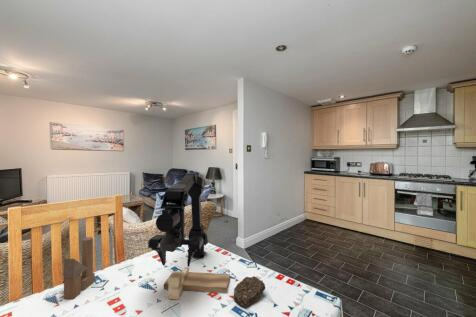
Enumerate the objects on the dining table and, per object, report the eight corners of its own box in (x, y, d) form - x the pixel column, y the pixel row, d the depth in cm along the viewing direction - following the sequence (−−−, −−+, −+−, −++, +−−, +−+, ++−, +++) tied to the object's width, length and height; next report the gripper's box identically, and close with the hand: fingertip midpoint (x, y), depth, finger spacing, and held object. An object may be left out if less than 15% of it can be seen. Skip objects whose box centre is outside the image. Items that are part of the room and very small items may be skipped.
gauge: (182, 276, 86) (182, 259, 86) (191, 277, 86) (191, 260, 86) (168, 298, 72) (168, 278, 72) (178, 299, 72) (178, 279, 72)
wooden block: (63, 299, 72) (63, 247, 72) (86, 281, 83) (86, 236, 83) (73, 299, 72) (73, 247, 72) (95, 281, 83) (95, 236, 83)
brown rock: (252, 284, 82) (252, 271, 82) (269, 298, 73) (269, 284, 73) (227, 294, 75) (227, 280, 75) (242, 311, 67) (242, 295, 67)
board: (173, 275, 87) (173, 271, 87) (230, 279, 85) (230, 274, 85) (163, 289, 78) (163, 283, 78) (226, 293, 76) (226, 287, 76)
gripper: (139, 229, 68) (138, 276, 68) (194, 230, 66) (194, 280, 66) (155, 219, 79) (155, 260, 79) (203, 220, 77) (203, 262, 77)
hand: (176, 265), depth 75 cm, fingers open, 9 cm apart
